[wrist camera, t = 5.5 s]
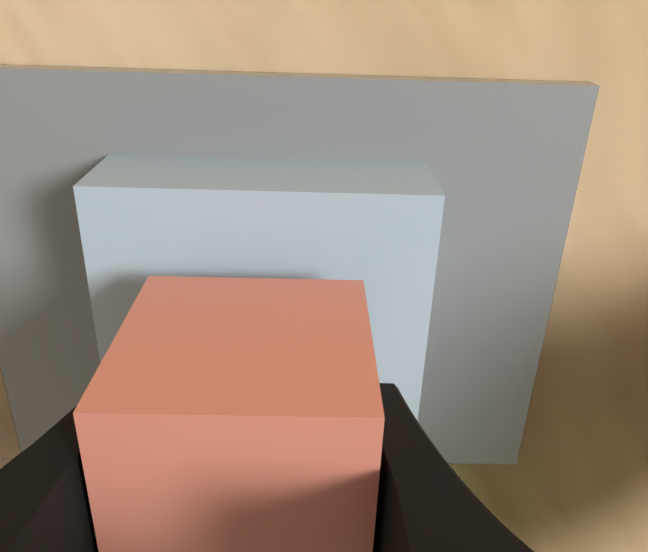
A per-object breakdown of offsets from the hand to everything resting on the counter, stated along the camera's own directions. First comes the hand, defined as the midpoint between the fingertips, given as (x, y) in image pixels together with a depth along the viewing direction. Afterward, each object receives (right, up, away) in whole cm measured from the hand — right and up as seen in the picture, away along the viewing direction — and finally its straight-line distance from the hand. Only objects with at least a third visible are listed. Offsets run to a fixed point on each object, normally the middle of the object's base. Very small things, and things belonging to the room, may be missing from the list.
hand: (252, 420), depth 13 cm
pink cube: (0, +1, +1) cm, 2 cm away
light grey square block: (0, +2, +5) cm, 5 cm away
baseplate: (0, +3, +5) cm, 6 cm away
